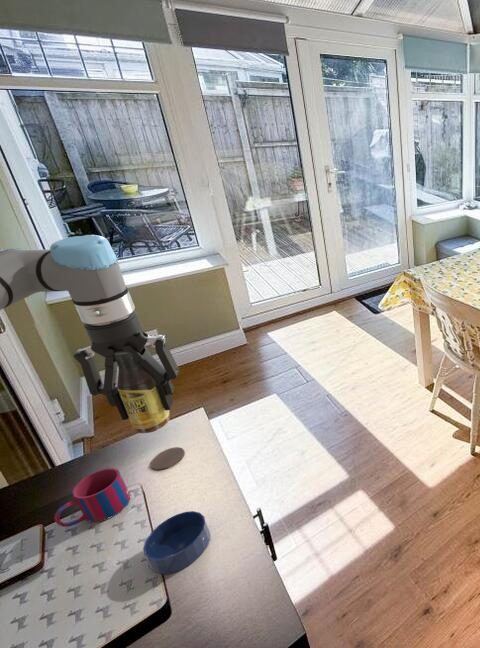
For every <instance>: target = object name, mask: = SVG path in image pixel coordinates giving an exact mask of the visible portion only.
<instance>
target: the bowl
mask: <svg viewBox="0 0 480 648" xmlns="http://www.w3.org/2000/svg"><path fill="white" fill-rule="evenodd" d="M210 541H211V531H210V528H209V526H208V523H207V521H206V518H205V515H203V514H202V513H201V512H199V511H194V510H192V511H191V510H189V511H183V512H180V513H177V514H175V515H172V516H171V517H169V518H166V519H165V520H164V521H163V522H162V523H160V524H158V525H157V526H156V527H155V528H154V529H153V530H152V531H151V532H150V534H149V535H148V536H147V538H146V540H145V542H144V544H143V547H142V549H143V555H144V557H145V559H146V561H147V563H148V566H149V567H150V569H151V570H152V572H154V573H155V574H158V575H171V574H174V573H178V572H180V571H182V570H184V569H186V568H188V567H189V566H190V565H192V564H193V563H195V562H196V561H197V560H198V559H199V558H200V557H201V556H202V555H203V554H204V552H205V551H206V550H207V548H208V546H209V544H210Z"/></svg>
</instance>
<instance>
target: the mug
mask: <svg viewBox="0 0 480 648" xmlns="http://www.w3.org/2000/svg"><path fill="white" fill-rule="evenodd" d="M71 492H72V493H71V495H72V497H73V500H70V501H68V502H66V503H64V504H63V505H62V506H60V507H59V508H58V509H57V510H56V512H55V513H54V517H53V519H54V521H55V523H56V524H57V525H58V526H61V527H64V528H69V527H72V526H76V525H78V524H80V523H82V522H84V521H87V522H89V521H91V522H90V523H99V522H98V521H100V522H102V521H101V520H104V519H106V520H108V519H107V518H108V517H111V516H113V515H114V516H116V515H118V514H119V513H120V512H122V511H123V510H124V509H125V508H126V507H127V506H128V504H129V503H130V501H131V498H130V496H131V493H130V492H129V489H128V487H127V485H126V483H125V481H124V479H123V477H122V474H121V472H120V471H119V470H118V468H114V467H108V468H102V469H99V470H97V471H94V472H93V473H90V474H89V475H87V476H85V477H84V478H82V479H81V480H79V482H78V483H77V484H76V485H75V486H74V487H73V489H72V491H71ZM129 500H130V501H129ZM128 502H129V503H128ZM127 503H128V504H127ZM75 505H76V506H78V508H79V510H80V511H81V514H82V515H81V516H80V517H78V518H77V519H74V520H71V521H68V522H62V521H61V518H60V517H61V514H62V513H63V512H64V510H66V509H67V508H70V507H72V506H75ZM125 506H126V507H125ZM124 507H125V508H124ZM123 508H124V509H123ZM122 509H123V510H122ZM118 512H119V513H118ZM117 513H118V514H117ZM115 514H116V515H115ZM114 516H113V517H114ZM111 518H112V517H111ZM104 521H105V520H104Z"/></svg>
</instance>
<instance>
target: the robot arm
mask: <svg viewBox="0 0 480 648" xmlns="http://www.w3.org/2000/svg"><path fill="white" fill-rule="evenodd" d="M43 292H44V293H45V292H47V293H48V292H49V293H51V292H52V293H53V292H68V294H69V296H70V298H71V301H72V303H73V304H74V307H75V309H76V311H77V314H78V316H79V318H80V321H81V322H82V323H83V327H84V330H85V332H86V335H87V337H88V339H89V341H90V342H91V345H89V346H80V347H79V348H78V349H77V351H75V353H74V354H73V358H74V360H76V361H77V362H78V363H79V364H80V367H81V370H82V373H83V376H84V379H85V383H86V385H87V389H88V391H89V394H90V395H91V396H98V395H104V396H105V397H106V399H107V401H108V404H109V406H111V407H112V408H113V407H116V408H117V410H118V413H119V415H120V417H121V419H122V421H126V420H128V419H129V416H128V414H127V411H126V409H125V406H124V404H123V402H122V399H121V396H120V394H119V392H118V389H117V384H118V382H117V378H118V376H117V375H118V365H117V362H116V359H114V353H115V352H119V351H124V352H125V353H130V352H131V353H132V354H133V359H134V360H135V361H136V362H139V363H140V364H141V365H142V366H143V367H144V368H145V369H146V370H147V371H148V372H149V373H150V374H151V375H152V376H153V377H154V378H155V379H156V380H157V381H158V383H157V385H156V388H157V390H158V393H159V395H160V398H161V400H162V403H163V405H164V408H165V411H166V410H169V411H170V410H171V408H172V406H173V403H174V400H173V397H172V395H173V391H174V385H173V381H172V380H176V379H177V376H178V374H179V372H180V368H179V366H178V364H177V362H176V360H175V358H174V356H173V354H172V352H171V350H170V348H169V346H168V344H167V335H166V333H160V334H158V335H149V334H148V333H147V332H146V331H145V330H144V329H143V325H142V323H141V319H140V317H139V315H138V312H137V311H136V310H135V309H136V306H135V304H134V301H133V298H132V296H131V294H130V291H129V289H128V286H127V285H126V282H125V280H124V276H123V273H122V270H121V267H120V263H119V260H118V256H117V254H116V253H115V251H114V249H113V247H112V245H111V244H110V241H109V240H108V239H107V238H105V236H102V235H97V234H85V235H75V236H70V237H66V238H62V239H59V240H56V241H55V242H53V243H52V244H50V247H49V249H33V248H32V249H27V248H26V249H24V248H23V249H22V248H5V249H0V311H1V310H3V309H6V308H8V307H10V306H12V305H14V304H16V303H18V302H20V301H22V300H24V299H27V298H29V297H30V296H32V295H35V294H38V293H43ZM147 343H148V344H150V345H151V347H152V348H153V349H154V350H155V353H156V354H157V355H156V356H157V357H158V359H159V360H160V362H159V361H158V360H157V359H156V358H155V357H154V356H153V355H152V354H151V353H150V351H149V349H148V348H147V347H146V345H147ZM135 349H136V350H135ZM95 353H96V354H98V355H100V356H101V357H103V358H104V379H103V380H102V377H101V374H100V370H99V366H98V364H97V360H96V357H95ZM160 363H161V364H160Z"/></svg>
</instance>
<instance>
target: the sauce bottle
mask: <svg viewBox="0 0 480 648" xmlns="http://www.w3.org/2000/svg"><path fill="white" fill-rule="evenodd" d="M135 350H136V349H135ZM114 359H116V362H117V365H118V366H117V370H118V372H117V375H118V376H117V384H116V387H117V389H118V392H119V394H120V396H121V399H122V402H123V404H124V406H125V409H126V411H127V414H128V416H129V417H128V419H129V421H130V423H131V426H132V428H133V429H134V431H136V433H138V434H149V433H154V432H156V431H158V430H159V429H161V428H163V427H165V426H166V425H167V424H168V423H169V421H170V420H171V414H170V410H166V411H165V408H164V405H163V403H162V400H161V398H160V395H159V393H158V390H157V388H156V385H157V383H158V381H157V380H156V379H155V378H154V377H153V376H152V375H151V374H150V373H149V372H148V371H147V370H146V369H145V368H144V367H143V366H142V365H141V364H140V363H139V362H136V361H135V360H134V359H133V354H132V353H131V352H130V353H125V352H124V351H119V352H115V353H114Z"/></svg>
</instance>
